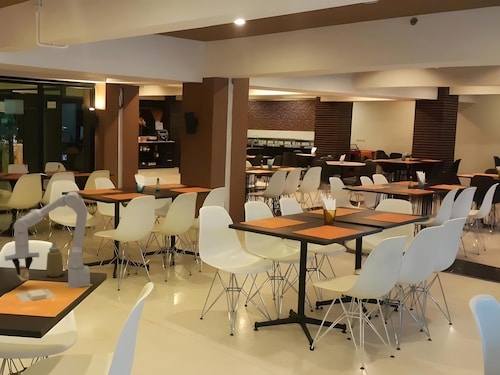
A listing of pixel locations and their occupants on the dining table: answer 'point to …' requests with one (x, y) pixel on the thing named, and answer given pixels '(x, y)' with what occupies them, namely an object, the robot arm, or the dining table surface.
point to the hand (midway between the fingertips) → (22, 274)
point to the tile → (37, 294)
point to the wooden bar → (23, 273)
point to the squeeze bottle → (54, 261)
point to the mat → (26, 298)
